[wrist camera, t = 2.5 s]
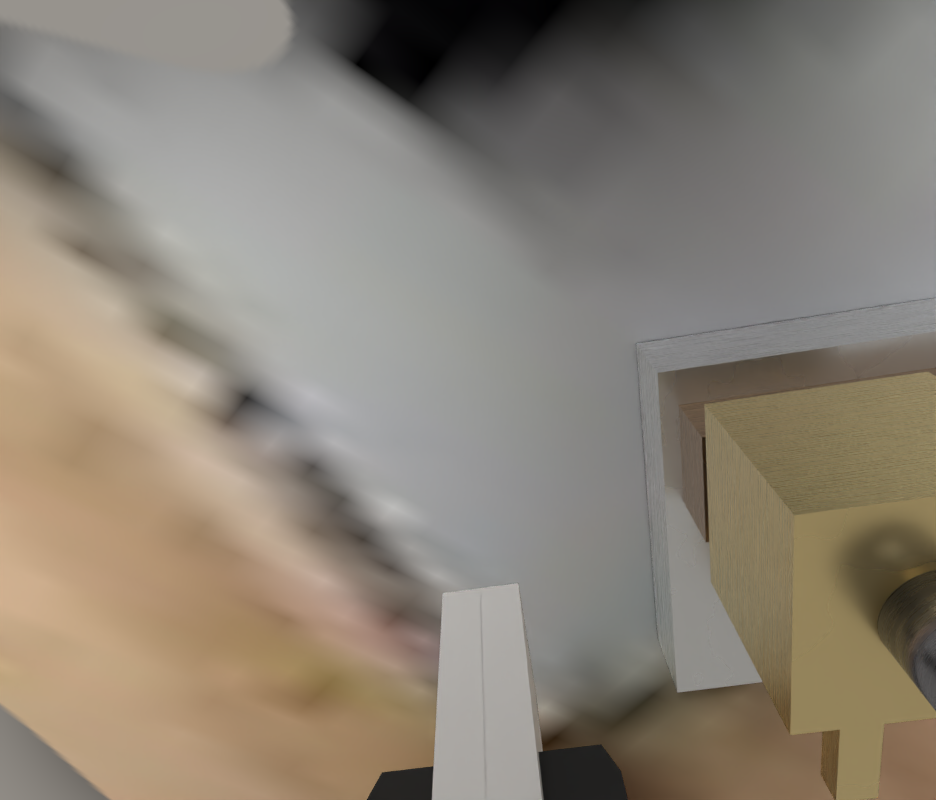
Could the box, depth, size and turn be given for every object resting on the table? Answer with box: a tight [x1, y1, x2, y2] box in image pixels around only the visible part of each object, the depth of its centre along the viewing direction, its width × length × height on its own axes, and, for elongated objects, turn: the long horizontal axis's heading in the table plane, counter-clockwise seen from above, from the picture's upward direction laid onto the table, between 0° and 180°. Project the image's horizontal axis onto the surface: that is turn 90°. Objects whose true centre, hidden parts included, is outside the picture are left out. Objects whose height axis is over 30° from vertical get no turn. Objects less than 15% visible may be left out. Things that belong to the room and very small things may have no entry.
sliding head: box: [704, 372, 936, 800], centre depth 16 cm, size 10×5×8 cm, turn 9°
